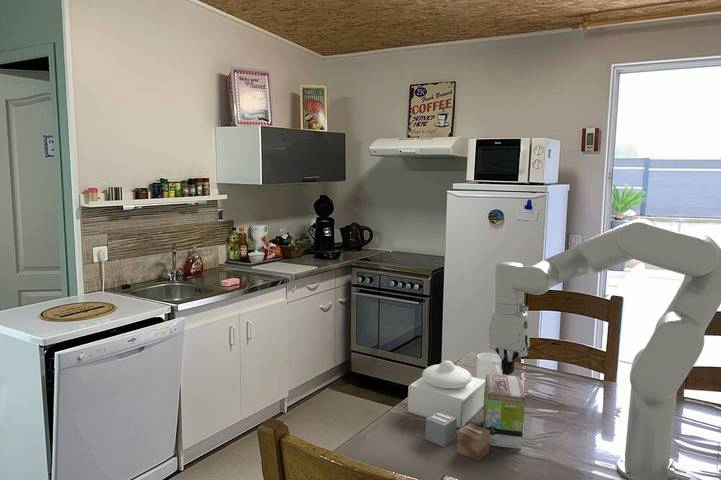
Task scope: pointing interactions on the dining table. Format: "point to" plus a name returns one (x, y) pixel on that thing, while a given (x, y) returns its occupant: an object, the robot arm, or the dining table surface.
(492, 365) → the mug
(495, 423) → the tea box
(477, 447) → the walnut marked block
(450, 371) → the butter dish
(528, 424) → the dining table surface
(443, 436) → the slate marked block
